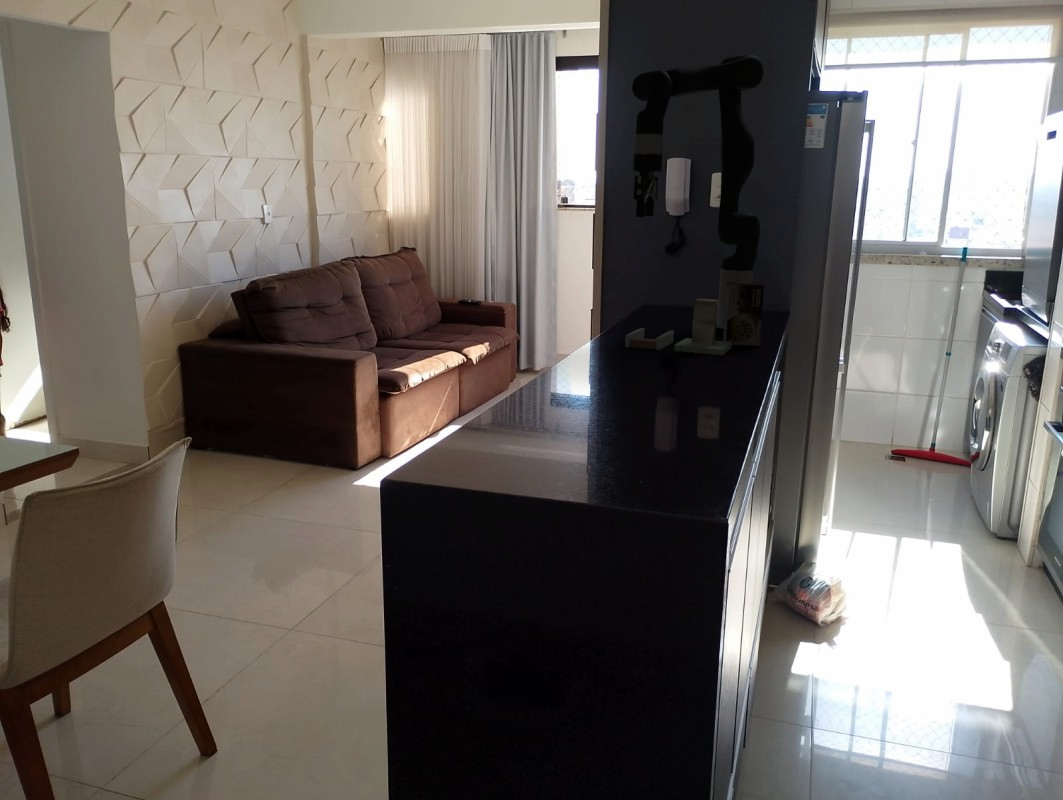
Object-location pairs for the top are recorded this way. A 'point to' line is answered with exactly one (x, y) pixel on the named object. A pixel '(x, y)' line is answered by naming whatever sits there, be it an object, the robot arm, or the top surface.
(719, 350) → the pad
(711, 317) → the birch block
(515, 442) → the top surface
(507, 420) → the top surface
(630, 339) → the grey frame
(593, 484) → the top surface
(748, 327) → the coffee box
